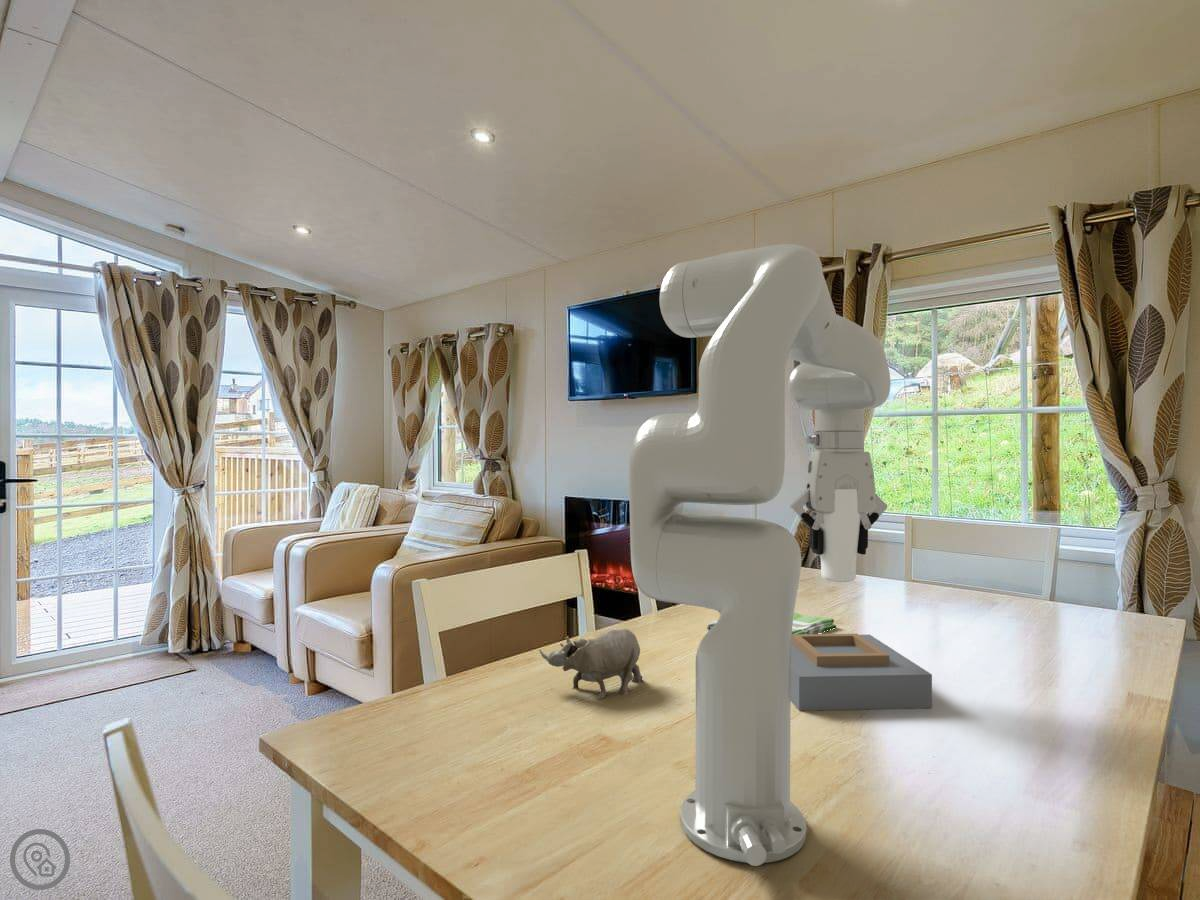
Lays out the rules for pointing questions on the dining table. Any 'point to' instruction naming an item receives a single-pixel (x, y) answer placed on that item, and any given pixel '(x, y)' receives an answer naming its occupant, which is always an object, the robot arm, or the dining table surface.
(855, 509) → the white tapered cylinder
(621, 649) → the rhinoceros figurine
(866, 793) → the dining table surface
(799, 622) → the dish towel
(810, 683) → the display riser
